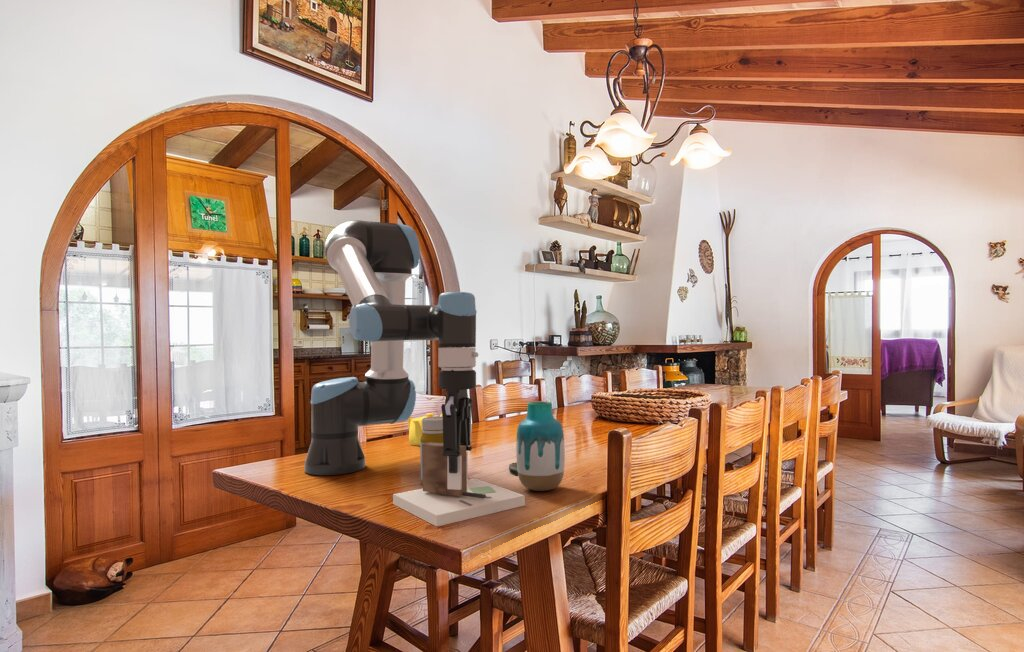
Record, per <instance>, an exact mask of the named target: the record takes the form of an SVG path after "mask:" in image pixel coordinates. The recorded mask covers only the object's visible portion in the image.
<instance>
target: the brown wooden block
mask: <svg viewBox="0 0 1024 652" xmlns="http://www.w3.org/2000/svg"><path fill="white" fill-rule="evenodd" d="M466 452H467V451H466V445H460V456H462V489H461V490H454V489H447V456H443V443H433V442H429V443H425V444H422V475H423V484H422V489H423V491H426V492H433V493H437V494H447V495H454V496H461V495H462V496H469V497H476V498H483V499H484V498H486V495H485V494H478V493H470V492H467V476H466Z"/></svg>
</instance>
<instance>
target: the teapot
mask: <svg viewBox="0 0 1024 652" xmlns="http://www.w3.org/2000/svg"><path fill="white" fill-rule="evenodd" d="M427 417H434V413H432V412H431V413H429V412H428V413H425V415H424V416H420V417H415V418H412V417H411V416H410V417H409V418H408V419H407V420H406V421H407V424H408V430H409V431H408V443H409V445H410V446H415V447H420V439H421V436H422V433H423V432H422V419H423V418H427ZM439 417H443V416H442V413H441V414H440V415H439Z"/></svg>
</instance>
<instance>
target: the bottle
mask: <svg viewBox="0 0 1024 652" xmlns="http://www.w3.org/2000/svg"><path fill="white" fill-rule="evenodd" d="M422 432H423V433H422V436H421V439H420V446H419V447H420V453H419V454H420V483H422V485H423V475H422V444H425V443H429V442H433V443H443V417H440V416H433V417H427V418H423V419H422Z"/></svg>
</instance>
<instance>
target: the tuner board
mask: <svg viewBox="0 0 1024 652" xmlns="http://www.w3.org/2000/svg"><path fill="white" fill-rule="evenodd" d="M467 492H470V493H478V494H485V495H486V498H484V499H483V498H476V497H469V496H462V495H461V496H454V495H447V494H437V493H433V492H426V491H423V488H418V489H413V490H408V491H402V492H398V493H393V494H392V504H393V505H395V506H396V507H398V508H400V509H402V510H404V511H406V512H407V513H410V514H412V515H414V516H415V517H417V518H419V519H421V520H423V521H425V522H427V523H429V524H431V525H433V526H435V527H441V526H447V525H449V524H454V523H457V522H462V521H465V520H470V519H474V518H479V517H482V516H487V515H490V514H494V513H500V512H504V511H508V510H512V509H516V508H521V507H524V506H526V502H525V499H526V497H525V494H523V493H518V492H516V491H513V490H510V489H507V488H505V487H501V486H499V485H495V484H493V483H491V482H487V481H483V480H482V479H478V478H470V479H468V484H467Z"/></svg>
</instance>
